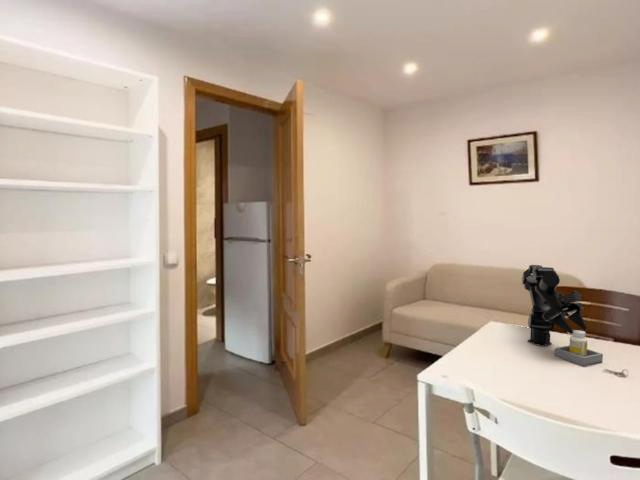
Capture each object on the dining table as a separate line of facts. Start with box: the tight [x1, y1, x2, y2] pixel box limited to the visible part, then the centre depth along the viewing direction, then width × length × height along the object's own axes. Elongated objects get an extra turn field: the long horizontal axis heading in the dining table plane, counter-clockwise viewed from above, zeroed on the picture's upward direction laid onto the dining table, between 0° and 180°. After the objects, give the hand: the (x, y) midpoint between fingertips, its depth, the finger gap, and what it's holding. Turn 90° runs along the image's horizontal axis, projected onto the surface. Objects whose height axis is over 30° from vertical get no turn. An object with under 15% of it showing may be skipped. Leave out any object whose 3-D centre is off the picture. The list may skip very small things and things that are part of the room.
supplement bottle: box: [569, 329, 588, 357], centre depth 142 cm, size 5×5×10 cm
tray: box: [554, 344, 604, 367], centre depth 142 cm, size 11×11×3 cm
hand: (579, 331), depth 141 cm, fingers open, 9 cm apart
